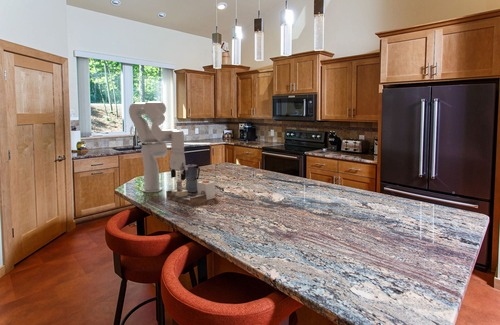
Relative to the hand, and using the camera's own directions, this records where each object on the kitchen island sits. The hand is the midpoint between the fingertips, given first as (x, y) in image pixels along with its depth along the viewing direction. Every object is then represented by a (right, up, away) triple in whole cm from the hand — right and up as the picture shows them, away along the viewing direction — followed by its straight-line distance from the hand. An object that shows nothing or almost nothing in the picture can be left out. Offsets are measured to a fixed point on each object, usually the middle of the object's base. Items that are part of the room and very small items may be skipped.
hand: (178, 178), depth 201 cm
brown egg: (+17, -5, +1) cm, 18 cm away
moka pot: (+6, -10, +18) cm, 21 cm away
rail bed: (+5, -13, -3) cm, 14 cm away
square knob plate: (+1, -10, +1) cm, 11 cm away
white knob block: (+17, -12, +2) cm, 21 cm away
